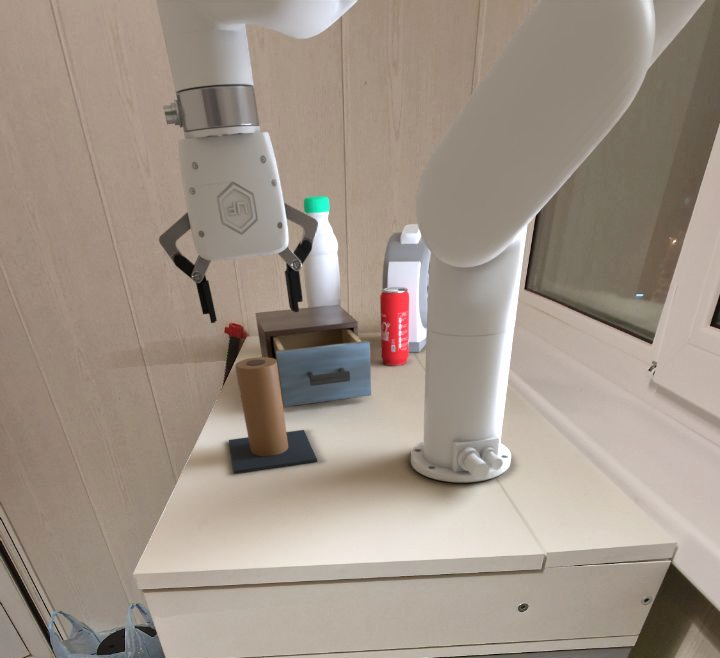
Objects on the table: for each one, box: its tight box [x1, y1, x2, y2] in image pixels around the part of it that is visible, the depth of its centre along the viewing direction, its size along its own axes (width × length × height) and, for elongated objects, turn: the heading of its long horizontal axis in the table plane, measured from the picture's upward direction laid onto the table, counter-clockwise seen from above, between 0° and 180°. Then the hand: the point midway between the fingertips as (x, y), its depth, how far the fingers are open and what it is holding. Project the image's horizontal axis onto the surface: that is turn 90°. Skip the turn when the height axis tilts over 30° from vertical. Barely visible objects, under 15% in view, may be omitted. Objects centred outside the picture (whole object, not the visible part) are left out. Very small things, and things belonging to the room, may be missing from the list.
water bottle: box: [303, 195, 342, 308], centre depth 109 cm, size 7×7×25 cm
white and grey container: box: [381, 223, 431, 353], centre depth 109 cm, size 18×8×20 cm, turn 162°
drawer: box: [271, 328, 372, 408], centre depth 90 cm, size 19×14×8 cm
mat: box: [228, 429, 318, 474], centre depth 76 cm, size 11×11×1 cm
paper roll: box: [234, 356, 288, 456], centre depth 73 cm, size 5×5×11 cm
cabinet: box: [255, 305, 360, 359], centre depth 99 cm, size 16×16×10 cm
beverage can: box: [379, 287, 410, 367], centre depth 103 cm, size 5×5×12 cm
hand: (254, 315), depth 66 cm, fingers open, 9 cm apart
